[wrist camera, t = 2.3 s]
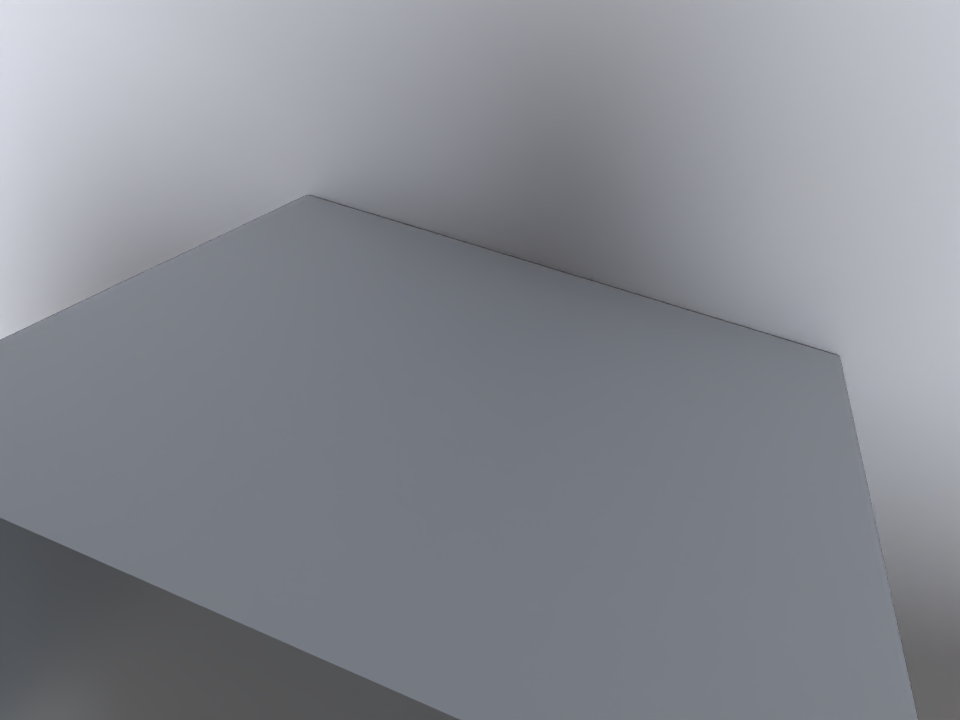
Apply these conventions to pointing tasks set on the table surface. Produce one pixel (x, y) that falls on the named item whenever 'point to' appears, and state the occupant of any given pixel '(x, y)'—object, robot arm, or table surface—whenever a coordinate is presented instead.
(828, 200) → the table surface
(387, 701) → the grey matte cube
